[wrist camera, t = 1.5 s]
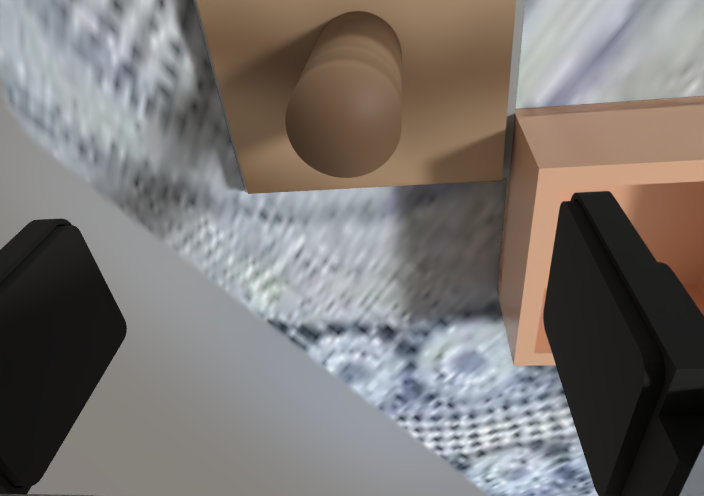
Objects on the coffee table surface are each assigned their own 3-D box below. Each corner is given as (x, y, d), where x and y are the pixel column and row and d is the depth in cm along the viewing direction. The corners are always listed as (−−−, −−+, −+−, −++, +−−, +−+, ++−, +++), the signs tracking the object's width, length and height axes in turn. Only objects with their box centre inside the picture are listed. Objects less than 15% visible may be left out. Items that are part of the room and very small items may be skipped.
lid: (179, -107, 17) (70, -88, 11) (522, -152, 15) (589, -156, 10) (253, 182, 23) (207, 282, 18) (498, 168, 22) (530, 273, 17)
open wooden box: (513, 109, 21) (539, 168, 17) (781, 90, 20) (877, 150, 16) (497, 290, 27) (513, 365, 23) (701, 285, 26) (756, 363, 22)
